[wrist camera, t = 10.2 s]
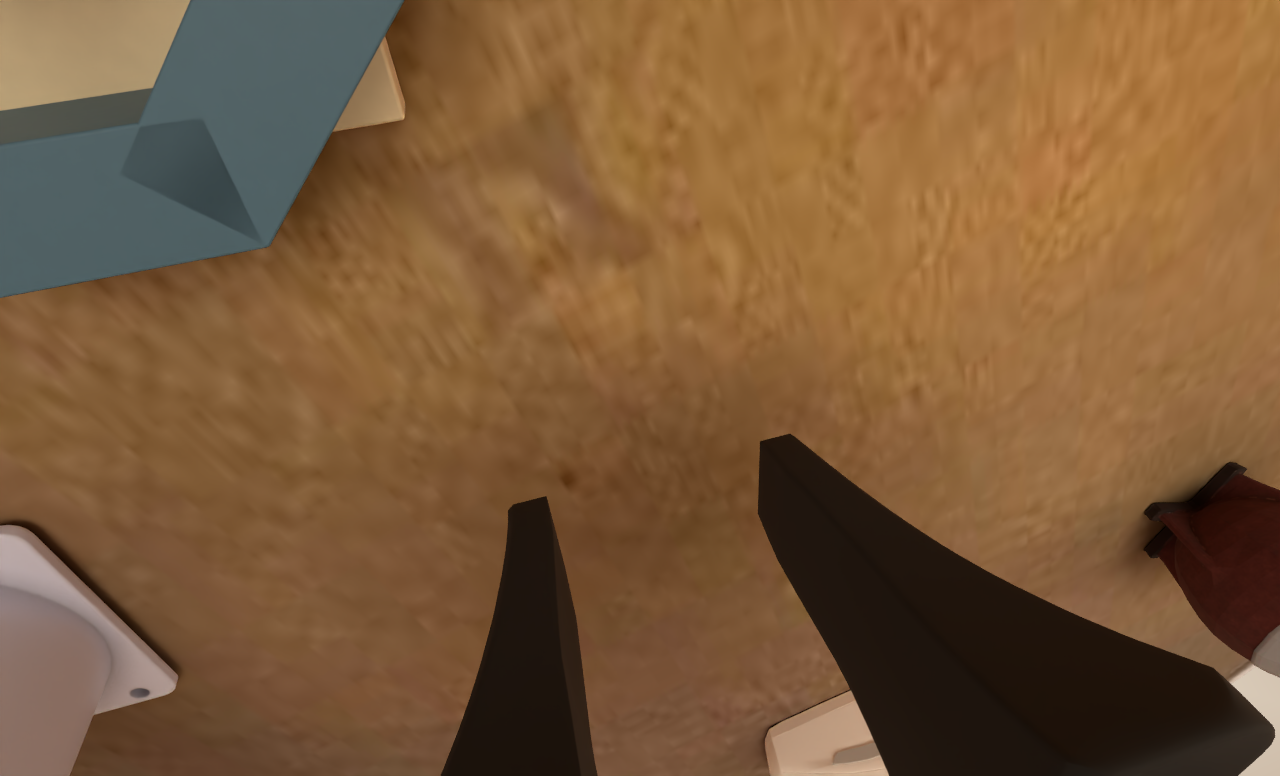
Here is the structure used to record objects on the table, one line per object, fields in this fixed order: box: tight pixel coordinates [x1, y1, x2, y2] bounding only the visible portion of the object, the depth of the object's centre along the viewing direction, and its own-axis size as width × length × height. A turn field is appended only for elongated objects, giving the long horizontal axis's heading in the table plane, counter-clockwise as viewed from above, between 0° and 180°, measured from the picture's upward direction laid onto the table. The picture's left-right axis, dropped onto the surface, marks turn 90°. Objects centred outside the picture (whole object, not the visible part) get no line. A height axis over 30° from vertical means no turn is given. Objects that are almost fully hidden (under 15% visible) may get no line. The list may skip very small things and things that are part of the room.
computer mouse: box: [765, 690, 889, 776], centre depth 35 cm, size 6×13×6 cm, turn 109°
